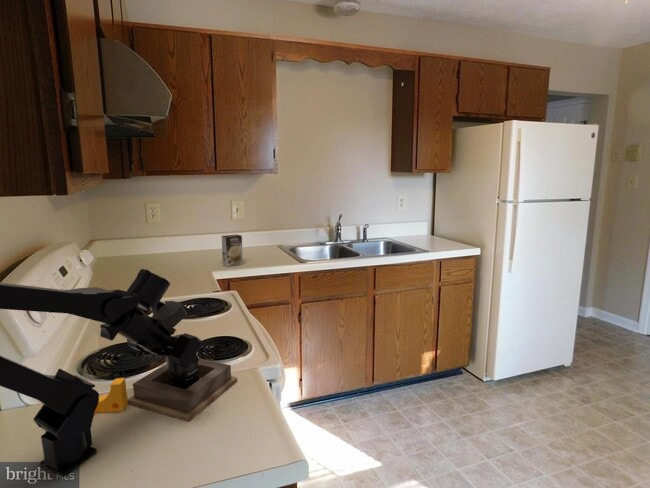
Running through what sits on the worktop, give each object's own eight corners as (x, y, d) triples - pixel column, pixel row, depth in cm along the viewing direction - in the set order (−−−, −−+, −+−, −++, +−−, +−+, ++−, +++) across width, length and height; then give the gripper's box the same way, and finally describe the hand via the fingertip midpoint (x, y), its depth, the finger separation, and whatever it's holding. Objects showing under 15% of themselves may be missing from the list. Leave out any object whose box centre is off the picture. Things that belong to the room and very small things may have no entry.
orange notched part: (59, 421, 82) (55, 392, 81) (70, 408, 86) (66, 381, 85) (120, 416, 83) (116, 388, 82) (127, 404, 88) (124, 377, 86)
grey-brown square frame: (188, 421, 81) (187, 401, 80) (127, 403, 88) (125, 385, 87) (237, 381, 97) (236, 364, 96) (182, 368, 103) (181, 352, 102)
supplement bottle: (197, 393, 89) (192, 342, 87) (165, 396, 88) (160, 345, 86) (202, 378, 95) (198, 330, 93) (173, 381, 94) (168, 333, 92)
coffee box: (227, 267, 210) (226, 237, 207) (222, 265, 215) (220, 235, 212) (243, 264, 215) (242, 235, 212) (238, 262, 220) (236, 234, 217)
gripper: (191, 300, 79) (233, 334, 91) (135, 287, 89) (179, 318, 100) (159, 352, 74) (208, 381, 85) (103, 332, 84) (154, 360, 95)
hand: (187, 357), depth 92 cm, fingers closed on supplement bottle, 7 cm apart
